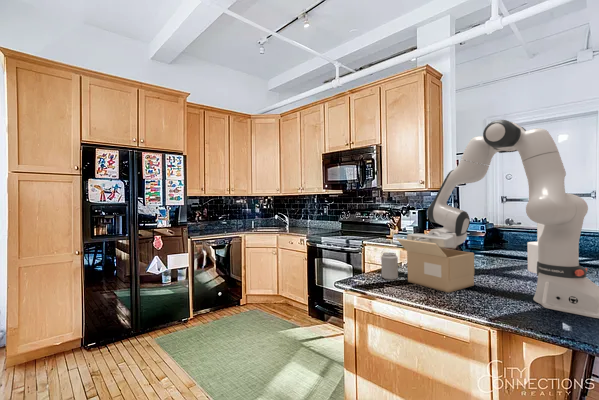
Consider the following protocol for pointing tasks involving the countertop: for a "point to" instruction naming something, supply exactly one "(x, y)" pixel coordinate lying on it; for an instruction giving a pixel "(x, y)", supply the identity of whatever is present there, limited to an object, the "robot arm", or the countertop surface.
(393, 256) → the can
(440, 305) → the countertop surface
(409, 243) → the flap
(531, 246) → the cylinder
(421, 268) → the carton
